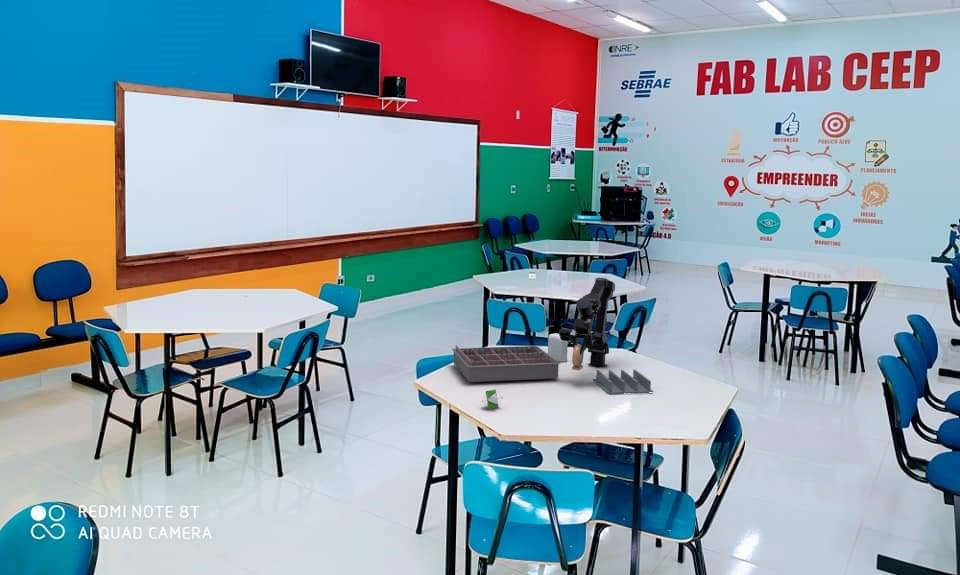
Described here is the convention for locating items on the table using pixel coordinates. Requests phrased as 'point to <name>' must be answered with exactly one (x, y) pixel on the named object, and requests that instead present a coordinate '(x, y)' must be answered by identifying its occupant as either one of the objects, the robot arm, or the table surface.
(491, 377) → the organizer tray
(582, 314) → the robot arm
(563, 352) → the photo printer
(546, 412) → the table surface
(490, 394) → the geometric puzzle
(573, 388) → the table surface
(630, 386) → the dish rack
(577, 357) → the peach disc
